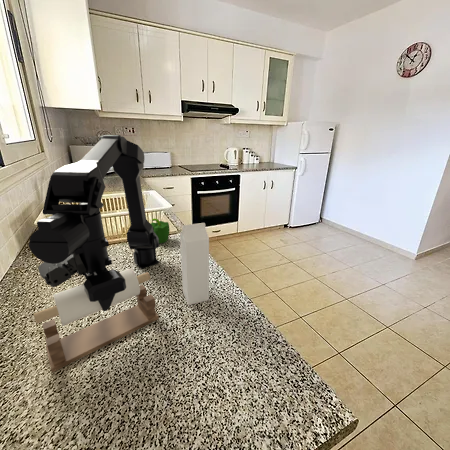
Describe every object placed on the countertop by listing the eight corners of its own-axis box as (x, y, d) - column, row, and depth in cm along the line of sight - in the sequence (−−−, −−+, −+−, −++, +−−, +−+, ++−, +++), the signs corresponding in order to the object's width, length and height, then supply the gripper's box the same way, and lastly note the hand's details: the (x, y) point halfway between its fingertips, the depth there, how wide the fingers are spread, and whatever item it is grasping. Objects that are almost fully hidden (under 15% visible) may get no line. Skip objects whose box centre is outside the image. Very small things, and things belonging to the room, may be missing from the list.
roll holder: (146, 304, 64) (144, 283, 61) (158, 318, 59) (156, 297, 56) (47, 348, 50) (39, 324, 48) (52, 372, 45) (43, 347, 43)
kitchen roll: (144, 281, 61) (141, 259, 58) (155, 293, 56) (153, 270, 54) (37, 322, 47) (28, 295, 45) (41, 342, 43) (31, 314, 40)
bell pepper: (174, 239, 102) (173, 217, 98) (162, 247, 95) (160, 223, 91) (158, 235, 105) (157, 214, 101) (146, 242, 98) (143, 220, 94)
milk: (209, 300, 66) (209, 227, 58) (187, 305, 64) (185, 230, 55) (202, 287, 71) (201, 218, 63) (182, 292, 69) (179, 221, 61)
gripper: (30, 231, 47) (50, 295, 53) (42, 271, 34) (66, 351, 40) (92, 219, 54) (103, 277, 60) (121, 249, 41) (132, 319, 47)
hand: (101, 301), depth 51 cm, fingers closed on kitchen roll, 6 cm apart
